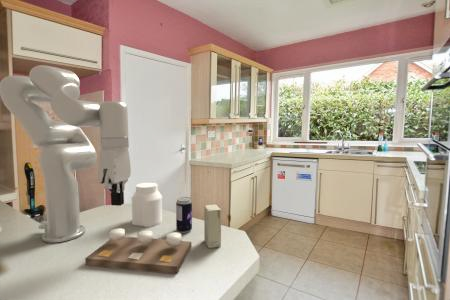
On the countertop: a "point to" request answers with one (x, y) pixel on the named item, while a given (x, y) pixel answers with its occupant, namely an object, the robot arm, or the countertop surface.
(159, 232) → the countertop surface
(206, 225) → the skincare box
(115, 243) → the button board
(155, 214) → the jar
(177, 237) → the button right
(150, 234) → the button middle
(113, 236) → the button left
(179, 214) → the beverage can
